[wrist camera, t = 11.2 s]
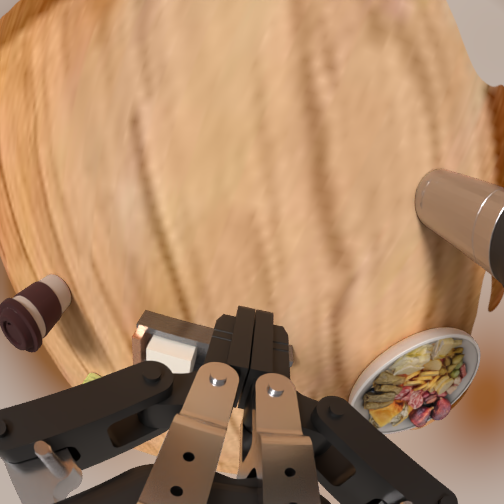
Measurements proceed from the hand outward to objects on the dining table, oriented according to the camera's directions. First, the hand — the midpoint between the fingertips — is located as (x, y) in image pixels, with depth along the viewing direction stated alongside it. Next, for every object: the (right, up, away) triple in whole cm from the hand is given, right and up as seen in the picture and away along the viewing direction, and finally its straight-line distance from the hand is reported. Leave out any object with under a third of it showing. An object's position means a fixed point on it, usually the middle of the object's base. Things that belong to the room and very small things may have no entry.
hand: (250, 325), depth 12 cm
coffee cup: (-37, -4, +33) cm, 50 cm away
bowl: (+33, -23, +36) cm, 54 cm away
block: (-12, -12, +34) cm, 38 cm away
